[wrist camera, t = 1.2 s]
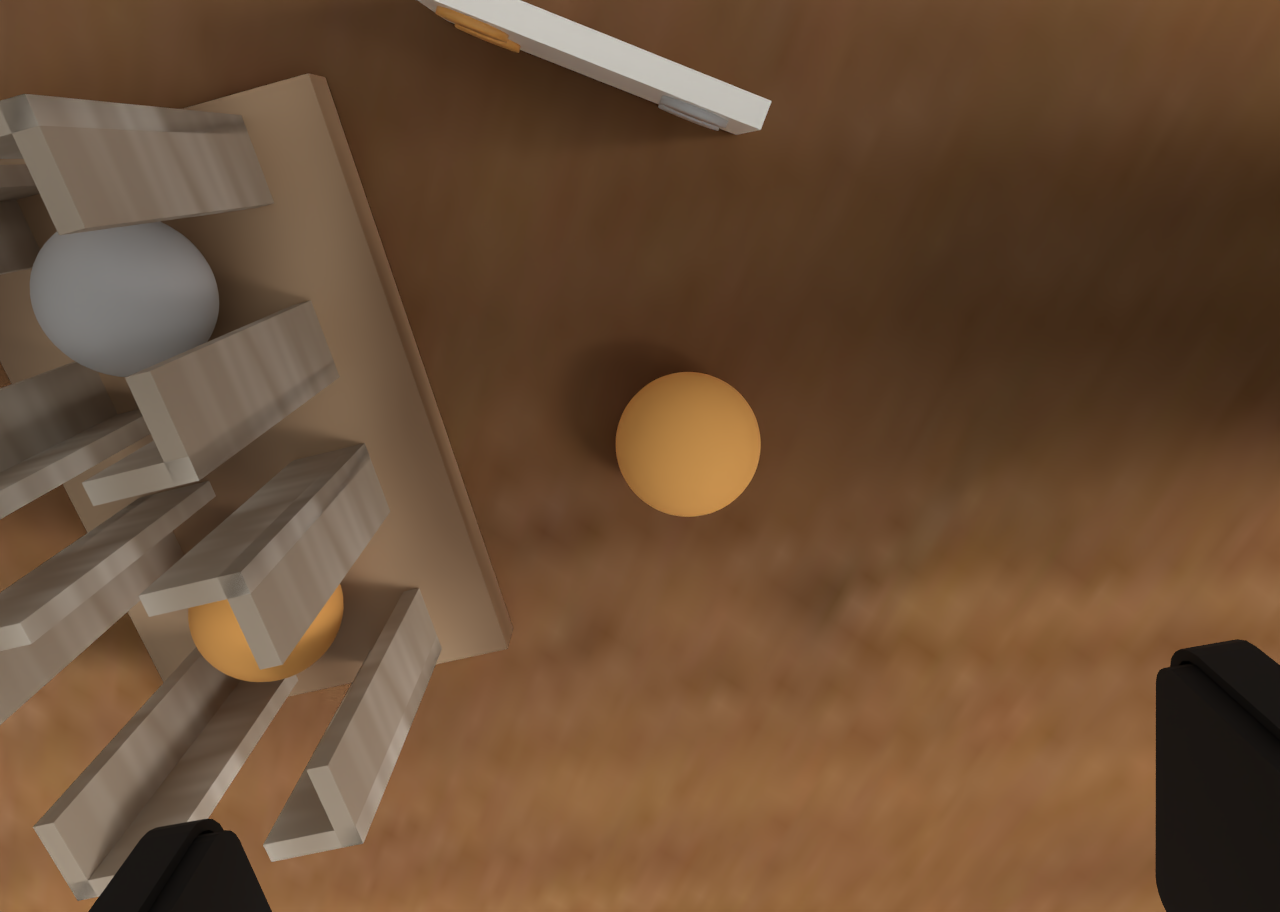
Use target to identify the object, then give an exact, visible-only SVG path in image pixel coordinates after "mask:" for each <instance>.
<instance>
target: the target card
mask: <svg viewBox="0 0 1280 912" xmlns="http://www.w3.org/2000/svg"><path fill="white" fill-rule="evenodd" d="M417 1H419V2H420V3H422V4H423V5H425V6H426V7H427V8H429V9H430V10H432V11H433V12H435V14H437V15H438V16H440V17H442V18H443V19H445V20H446V21H448V22H451V23H453V24H455V27H456V28H457V29H459V30H461V31H463V32H466V33H468V34H470V35H472V36H475V37H477V38H479V39H482V40H484V41H487V42H489V43H492V44H494V45H497V46H499V47H502V48H505V49H508V50H510V51H514V52H517V53H519V51H520V50H522V51H524V52H527V53H529V54H532V55H535V56H537V57H540V58H542V59H545V60H547V61H550V62H552V63H555V64H557V65H560V66H562V67H565V68H568V69H570V70H573V71H575V72H578V73H580V74H583V75H585V76H588V77H590V78H593V79H595V80H598V81H600V82H603V83H606V84H608V85H611V86H613V87H616V88H618V89H621V90H623V91H626V92H628V93H631V94H633V95H636V96H638V97H641V98H644V99H646V100H649V101H651V102H654V103H656V104H659V106H658V108H660V109H662V110H664V111H666V112H668V113H670V114H673V115H675V116H677V117H680V118H682V119H685V120H687V121H690V122H692V123H695V124H698V125H700V126H703V127H706V128H709V129H712V130H716V131H718V130H719V128H720V129H722V130H725V131H727V132H730V133H732V134H735V135H739V134H743V133H748V132H753V131H758V130H761V128H762V125H763V123H764V120H765V117H766V115H767V112H768V110H769V107H770V104H771V102H772V101H770V100H768V99H765V98H763V97H760V96H758V95H755V94H753V93H750V92H748V91H745V90H743V89H740V88H738V87H735V86H733V85H730V84H728V83H725V82H723V81H720V80H718V79H715V78H713V77H710V76H708V75H705V74H703V73H700V72H698V71H695V70H693V69H691V68H688V67H686V66H683V65H681V64H678V63H676V62H673V61H671V60H668V59H666V58H663V57H661V56H658V55H656V54H653V53H651V52H648V51H646V50H643V49H641V48H638V47H636V46H633V45H631V44H628V43H626V42H623V41H621V40H618V39H616V38H613V37H611V36H608V35H606V34H603V33H601V32H598V31H596V30H593V29H591V28H588V27H586V26H583V25H581V24H578V23H576V22H573V21H571V20H568V19H566V18H563V17H561V16H558V15H556V14H553V13H551V12H548V11H546V10H543V9H541V8H539V7H536V6H534V5H531V4H529V3H526V2H524V1H521V0H417Z"/></svg>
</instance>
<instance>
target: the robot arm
mask: <svg viewBox="0 0 1280 912" xmlns="http://www.w3.org/2000/svg"><path fill="white" fill-rule="evenodd" d="M1156 884H1157V888H1158V892H1159V895H1160V898H1161V901H1162V903H1163V906H1164V908H1165V910H1166V912H1280V665H1279V664H1278V663H1276V662H1275V661H1274V660H1272V659H1271V658H1270V657H1269V656H1267V655H1266V654H1265V653H1264V652H1262V651H1261V650H1260V649H1258V648H1257V647H1256V646H1254V645H1253V644H1251V643H1249V642H1247V641H1245V640H1238V639H1237V640H1231V641H1225V642H1220V643H1214V644H1208V645H1202V646H1196V647H1191V648H1185V649H1180V650H1178V651H1176V652H1175V653H1174V655H1173V657H1172V659H1171V665H1170V667H1168V668H1163V669H1161V670H1160V671H1159V672H1158V674H1157V679H1156ZM89 912H272V911H271V909H270V907H269V904H268V902H267V900H266V898H265V895H264V893H263V891H262V889H261V887H260V884H259V882H258V880H257V878H256V876H255V873H254V871H253V869H252V867H251V865H250V862H249V860H248V858H247V856H246V854H245V851H244V849H243V847H242V845H241V842H240V840H239V839H238V837H237V836H236V834H235V833H233V832H232V831H226V830H225V831H224V830H223V828H222V827H221V825H220V824H219V823H218V822H216V821H215V820H213V819H202V820H196V821H190V822H184V823H179V824H173V825H167V826H161V827H156V828H154V829H152V830H150V831H148V832H147V833H146V834H145V835H144V836H143V837H142V838H141V839H140V840H139V842H138V843H137V845H136V846H135V847H134V849H133V850H132V852H131V853H130V854H129V856H128V857H127V859H126V860H125V861H124V863H123V864H122V866H121V867H120V868H119V870H118V871H117V873H116V874H115V875H114V877H113V878H112V880H111V881H110V882H109V884H108V885H107V886H106V888H105V889H104V891H103V892H102V893H101V895H100V896H99V898H98V899H97V900H96V902H95V903H94V905H93V906H92V907H91V909H90V910H89Z"/></svg>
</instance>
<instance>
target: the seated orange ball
mask: <svg viewBox="0 0 1280 912" xmlns="http://www.w3.org/2000/svg"><path fill="white" fill-rule="evenodd" d="M343 610H344V603H343V592H342V588H341V585H340V584H339V585H338V587H337V588H336V590H335V591H334V593H333V594H332V595H331V597H330V598H329V600H328V601H327V603H326V604H325V605H324V607H323V608H322V610H321V611H320V612H319V614H318V615H317V617H316V618H315V620H314V621H313V622H312V624H311V625H310V627H309V628H308V629H307V631H306V632H305V634H304V635H303V637H302V638H301V639H300V641H299V642H298V644H297V645H296V647H295V648H294V649H293V651H292V652H291V654H290V655H289V656H288V658H287V659H286V661H285V662H284V664H283V665H280V666H275V667H270V668H266V669H261V670H260V669H259V667H258V664H257V662H256V660H255V658H254V656H253V654H252V651H251V649H250V647H249V645H248V643H247V641H246V638H245V636H244V634H243V632H242V630H241V628H240V626H239V623H238V621H237V619H236V617H235V615H234V613H233V610H232V608H231V606H230V604H229V602H228V600H227V599H225V600H221V601H217V602H212V603H208V604H204V605H199V606H195V607H191V608H188V622H189V629H190V632H191V636H192V639H193V641H194V643H195V645H196V647H197V649H198V651H199V652H200V653H201V655H202V656H203V657H204V658H205V659H206V660H207V661H208V662H209V663H210V664H211V665H212V666H213V667H215V668H216V669H218V670H219V671H221V672H223V673H224V674H226V675H228V676H231V677H233V678H236V679H240V680H244V681H249V682H271V681H278V680H281V679H285V678H288V677H291V676H293V675H296V674H298V673H300V672H302V671H303V670H305V669H307V668H308V667H310V666H311V665H312V664H314V663H315V662H316V661H317V660H318V659H320V658H321V657H322V656H323V654H324V653H325V652H326V651H327V650H328V648H329V647H330V646H331V644H332V643H333V641H334V639H335V637H336V635H337V633H338V631H339V629H340V625H341V621H342V617H343Z"/></svg>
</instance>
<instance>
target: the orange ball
mask: <svg viewBox="0 0 1280 912" xmlns="http://www.w3.org/2000/svg"><path fill="white" fill-rule="evenodd" d="M760 450H761V438H760V431H759V427H758V423H757V420H756V417H755V415H754V413H753V411H752V409H751V407H750V406H749V404H748V403H747V401H746V400H745V399H744V398H743V396H742V395H741V394H740V393H739V392H738V391H737V390H736V389H735V388H733V387H732V386H731V385H729V384H728V383H726V382H724V381H722V380H720V379H718V378H716V377H713V376H711V375H708V374H703V373H698V372H679V373H673V374H669V375H666V376H662V377H660V378H658V379H656V380H654V381H652V382H651V383H649V384H647V385H646V386H645V387H643V388H642V389H641V390H640V391H639V392H638V393H637V394H636V395H635V396H634V397H633V398H632V399H631V400H630V402H629V403H628V405H627V406H626V408H625V410H624V412H623V414H622V416H621V419H620V421H619V424H618V429H617V433H616V455H617V460H618V465H619V467H620V470H621V473H622V475H623V477H624V479H625V481H626V482H627V484H628V485H629V487H630V488H631V490H632V491H633V492H634V493H635V494H636V495H637V496H638V497H639V498H640V499H641V500H643V501H644V502H645V503H647V504H648V505H650V506H651V507H653V508H655V509H657V510H659V511H661V512H664V513H667V514H670V515H675V516H683V517H694V516H701V515H706V514H709V513H713V512H715V511H718V510H720V509H722V508H724V507H725V506H727V505H729V504H730V503H731V502H733V501H734V500H735V499H736V498H737V497H738V496H739V495H740V494H741V493H742V492H743V491H744V490H745V488H746V487H747V486H748V485H749V483H750V481H751V480H752V478H753V476H754V474H755V471H756V469H757V465H758V462H759V457H760Z"/></svg>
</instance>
